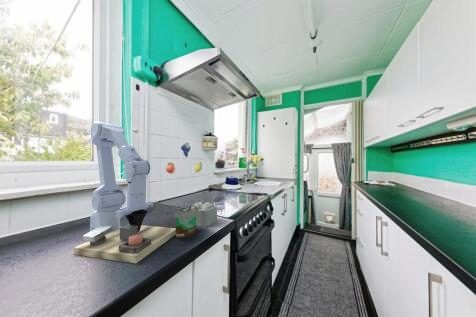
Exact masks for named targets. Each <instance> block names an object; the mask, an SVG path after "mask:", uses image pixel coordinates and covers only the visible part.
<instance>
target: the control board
mask: <svg viewBox="0 0 476 317" xmlns="http://www.w3.org/2000/svg"><path fill="white" fill-rule="evenodd" d="M128 225H130V224H129V223H128ZM137 234H142V235H143V240H142V243H141V244H140V245H138V246H136V247H135V246H128V245H129V240H120V228H119V229H117V230H114V231H112V232H110V233H108V234H107V235H105V236H103V237H102V238H100V239H98V240H97V241H95V242H90V241H85V242H83V243H81V244H79V245H76V246H74V247H73V252H72V253H73V255H75V256H81V257H82V256H83V257H91V258H94V259H95V258H96V259H102V260H109V261H117V262H123V263H131V264H138V263H139V262H140V261H142V260H143V259H144V258H146V257H147V256H148V255H150V254H151V253H153V252H154V251H155V250H157V249H158V248H159V247H161V246H162V245H163V244H165V243H166V242H168V241H169V240H170V239H172V238H173V237H174V236H176V227H164V226H156V225H155V226H153V225H144V224H142V225H141V228H140V231H139V232H138V233H137Z"/></svg>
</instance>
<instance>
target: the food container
mask: <svg viewBox="0 0 476 317" xmlns="http://www.w3.org/2000/svg"><path fill="white" fill-rule="evenodd" d="M198 213H199V209H198V207H197V206H196V205H194V204H189V206H188V207H185V208H183V209H181V210H180V211H174V217H173V218H174V219H175V222H174V224H175V228H176V235H175V238H176V239H186V238H190V237H192V236H194V235H195V234H196V232H197V231H196V230H197V226H196V221H197V214H198Z"/></svg>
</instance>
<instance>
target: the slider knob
mask: <svg viewBox="0 0 476 317" xmlns="http://www.w3.org/2000/svg"><path fill="white" fill-rule="evenodd" d="M120 227H121V228H120V240H129V237H130V236H132V235H136V234H137V225H129V224H126V225H123V226H120Z"/></svg>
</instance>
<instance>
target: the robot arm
mask: <svg viewBox="0 0 476 317" xmlns="http://www.w3.org/2000/svg"><path fill="white" fill-rule="evenodd" d="M125 133H126V132H125V129H124V127H123V126H122V125H117V124H111V123H105V122H101V121H98V120H97V121H94V122H93V123H92V125H91V127H90V137H91V139H90V140H91V143H92V144H93V145H95V146H96V155H97V165H98V173H99V183H100V185H99V186H98V187H97V188H96V189H95V190H93V192H92V194H91V196H92V197H91V198H92V199H91V206H92V209H93V211H92V212H91V215H90V217H89V218H90V221H89V231H88V232H87V233H89V232H91V231H93V230H95V229H97V228H98V227H100V226H102V225H103V226H112V230H113V231H114V230H117V229H119V228H121V227H122V226H121V225H120V224H121V222H120V220H121V218H122V219H123V217H125V218H126V220H127V221H128V225H129V224H130V225H137V233H138V232H139V231H140V228H141V225H143V222H144V219H145V217H146V215H147V214H148V210H147V209H148V208H153V207H154V201H146V200H147V176H148V175H149V174H150V172H151V164H150V162H149V161H148V160H146V159H144V158H142V157H141V156H140V154H139V153H138V152H137V150H136V148H135V147H134V146H132V145H129V143H128V141H127V139H126V138H125ZM113 147H116V148H118V152H117V154H118V157H119V158H120V159H121V161H122V163H123V164H124V168H123V170H124V174H125V180H126V182H127V190H126V191H127V196H126V193H125V191H124V187H122V186H121V185H119V184H117V180H116V171H115V164H114V157H113V149H112V148H113ZM126 198H127V199H126ZM125 202H126V206H125V207H123V205H125Z"/></svg>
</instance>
